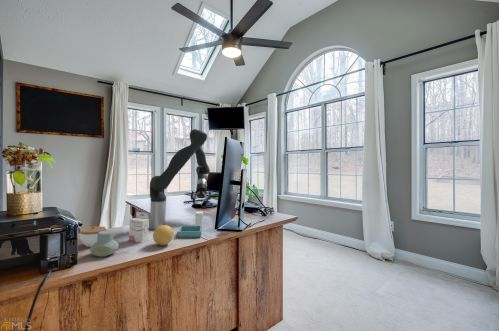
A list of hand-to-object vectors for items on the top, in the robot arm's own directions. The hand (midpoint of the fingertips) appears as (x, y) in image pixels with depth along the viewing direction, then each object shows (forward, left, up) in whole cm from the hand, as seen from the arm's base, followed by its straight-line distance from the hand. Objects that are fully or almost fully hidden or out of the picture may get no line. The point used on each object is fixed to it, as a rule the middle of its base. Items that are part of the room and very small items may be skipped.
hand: (200, 203), depth 163 cm
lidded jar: (-50, -41, -14) cm, 66 cm away
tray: (-4, -26, -14) cm, 29 cm away
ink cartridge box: (-30, -36, -14) cm, 49 cm away
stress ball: (-16, -43, -14) cm, 48 cm away
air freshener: (-39, -54, -14) cm, 68 cm away
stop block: (0, -11, -14) cm, 17 cm away
